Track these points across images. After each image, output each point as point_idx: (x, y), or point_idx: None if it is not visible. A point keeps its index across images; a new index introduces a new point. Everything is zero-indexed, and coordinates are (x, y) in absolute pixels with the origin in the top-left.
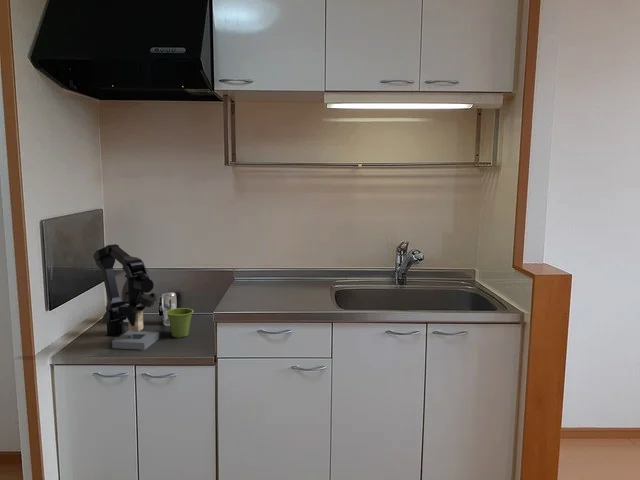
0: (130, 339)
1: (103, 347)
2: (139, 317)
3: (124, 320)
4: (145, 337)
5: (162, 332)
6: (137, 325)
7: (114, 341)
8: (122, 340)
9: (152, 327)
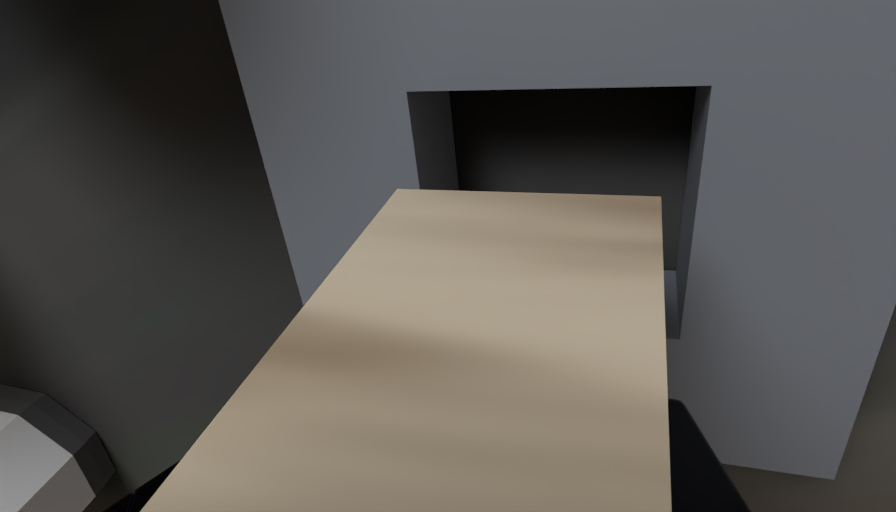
0: (733, 256)
1: (768, 484)
2: (511, 505)
3: (85, 505)
4: (582, 10)
5: (44, 3)
6: (663, 321)
7: (841, 451)
8: (796, 360)
9: (9, 224)
